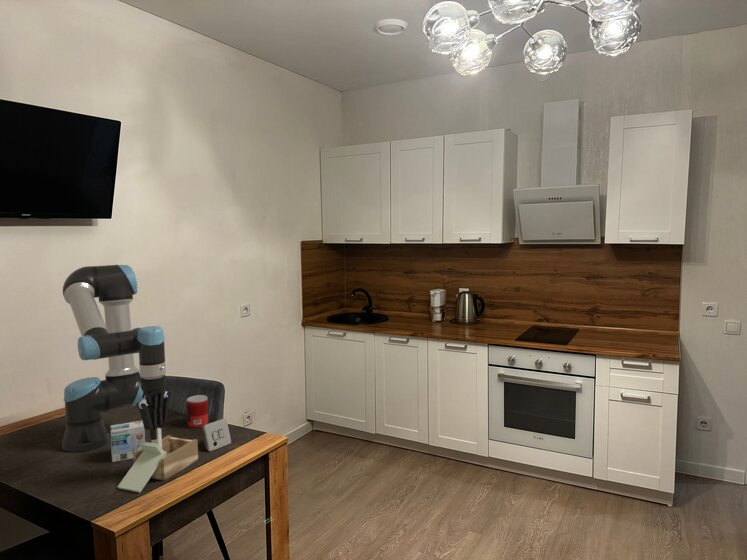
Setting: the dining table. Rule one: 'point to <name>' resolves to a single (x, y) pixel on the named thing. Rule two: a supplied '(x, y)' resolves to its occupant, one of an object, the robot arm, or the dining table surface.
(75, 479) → the dining table surface
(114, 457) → the light bulb box
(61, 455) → the dining table surface
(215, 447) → the electrical switch
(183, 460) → the pencil box
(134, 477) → the lid
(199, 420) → the canned food
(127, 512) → the dining table surface
